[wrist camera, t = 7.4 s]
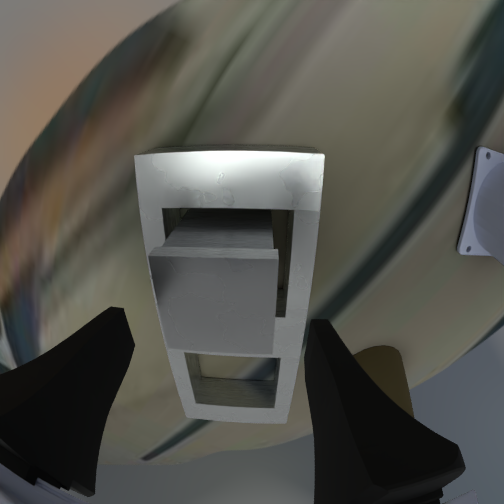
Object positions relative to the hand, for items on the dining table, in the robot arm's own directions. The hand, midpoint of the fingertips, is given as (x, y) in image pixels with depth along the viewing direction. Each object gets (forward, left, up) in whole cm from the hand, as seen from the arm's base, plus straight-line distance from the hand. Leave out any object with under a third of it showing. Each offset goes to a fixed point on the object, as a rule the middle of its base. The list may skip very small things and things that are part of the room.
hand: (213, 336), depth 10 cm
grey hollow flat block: (0, +5, -8) cm, 10 cm away
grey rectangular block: (0, 0, -8) cm, 8 cm away
